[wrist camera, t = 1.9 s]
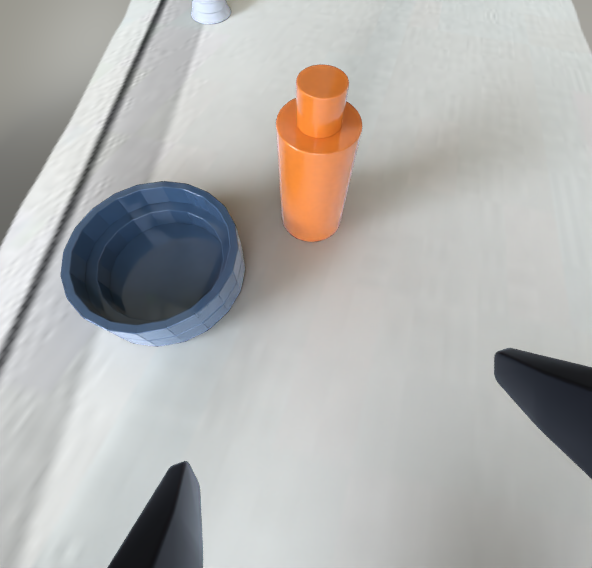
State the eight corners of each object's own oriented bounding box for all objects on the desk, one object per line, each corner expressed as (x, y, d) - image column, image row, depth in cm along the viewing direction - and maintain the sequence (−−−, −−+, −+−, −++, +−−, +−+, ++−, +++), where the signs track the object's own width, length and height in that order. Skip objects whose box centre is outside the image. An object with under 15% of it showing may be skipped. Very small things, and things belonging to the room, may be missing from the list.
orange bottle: (342, 196, 29) (373, 54, 18) (338, 245, 27) (370, 119, 16) (286, 190, 29) (281, 46, 18) (277, 238, 27) (265, 109, 16)
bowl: (257, 221, 27) (251, 190, 24) (228, 357, 23) (215, 344, 19) (125, 206, 28) (100, 174, 24) (70, 336, 23) (29, 320, 20)
